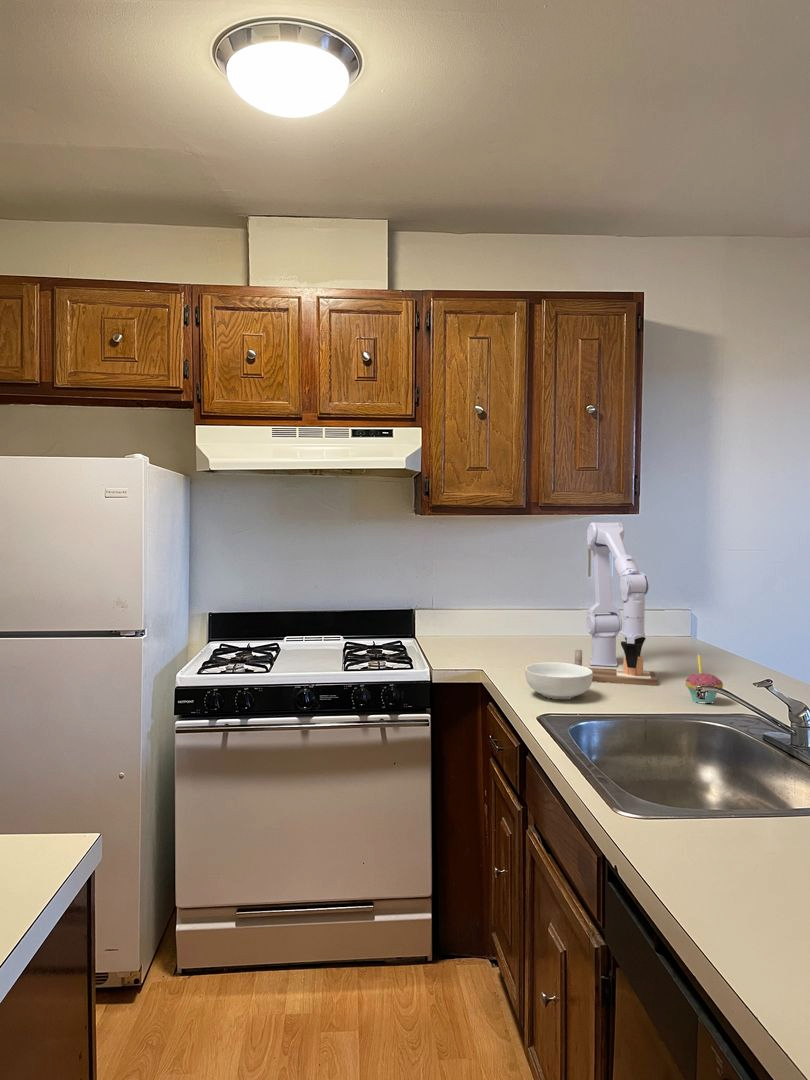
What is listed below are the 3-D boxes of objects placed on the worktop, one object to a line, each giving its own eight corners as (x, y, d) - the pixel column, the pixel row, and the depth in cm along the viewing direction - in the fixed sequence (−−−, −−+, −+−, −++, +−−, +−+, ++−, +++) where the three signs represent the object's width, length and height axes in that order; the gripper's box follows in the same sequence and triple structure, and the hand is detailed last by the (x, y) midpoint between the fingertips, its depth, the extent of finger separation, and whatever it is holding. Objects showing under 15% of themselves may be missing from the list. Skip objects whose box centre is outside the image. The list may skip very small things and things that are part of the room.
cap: (624, 670, 205) (624, 654, 205) (643, 672, 203) (644, 656, 202) (622, 674, 200) (622, 658, 200) (641, 676, 198) (642, 659, 198)
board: (554, 671, 212) (554, 645, 212) (654, 676, 205) (654, 650, 205) (552, 679, 202) (552, 652, 202) (657, 685, 194) (657, 658, 194)
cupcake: (677, 699, 180) (678, 651, 180) (704, 696, 183) (705, 649, 183) (703, 707, 172) (703, 658, 172) (730, 704, 175) (731, 655, 175)
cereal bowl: (543, 707, 173) (544, 678, 173) (514, 690, 189) (514, 664, 189) (605, 701, 178) (605, 673, 178) (571, 686, 194) (571, 660, 194)
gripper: (622, 612, 209) (621, 658, 209) (615, 619, 196) (615, 668, 196) (647, 614, 206) (646, 660, 207) (642, 621, 193) (641, 671, 193)
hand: (633, 664), depth 201 cm, fingers open, 7 cm apart
